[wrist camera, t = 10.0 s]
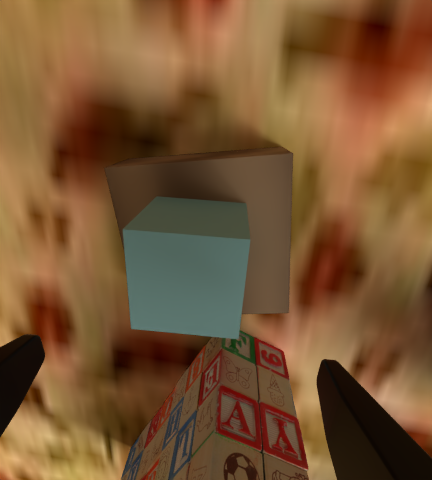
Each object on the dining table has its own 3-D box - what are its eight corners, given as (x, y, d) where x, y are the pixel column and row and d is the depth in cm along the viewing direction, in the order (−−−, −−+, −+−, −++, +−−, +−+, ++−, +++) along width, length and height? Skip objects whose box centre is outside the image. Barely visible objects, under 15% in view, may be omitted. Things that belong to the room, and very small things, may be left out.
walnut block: (281, 146, 18) (293, 153, 14) (279, 280, 22) (288, 312, 18) (130, 158, 19) (104, 167, 15) (155, 284, 23) (140, 316, 19)
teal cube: (246, 203, 15) (250, 239, 11) (238, 280, 17) (238, 339, 13) (156, 196, 15) (122, 229, 11) (158, 273, 17) (131, 328, 13)
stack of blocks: (179, 465, 32) (148, 651, 21) (130, 446, 31) (70, 629, 20) (285, 349, 24) (327, 552, 13) (222, 318, 23) (208, 507, 12)
